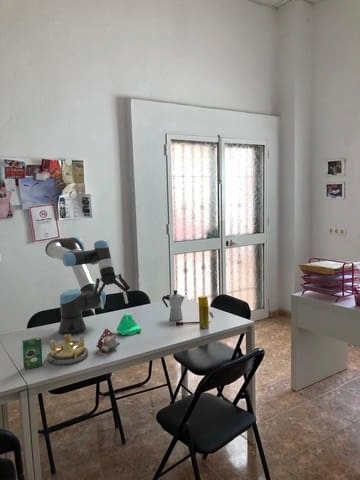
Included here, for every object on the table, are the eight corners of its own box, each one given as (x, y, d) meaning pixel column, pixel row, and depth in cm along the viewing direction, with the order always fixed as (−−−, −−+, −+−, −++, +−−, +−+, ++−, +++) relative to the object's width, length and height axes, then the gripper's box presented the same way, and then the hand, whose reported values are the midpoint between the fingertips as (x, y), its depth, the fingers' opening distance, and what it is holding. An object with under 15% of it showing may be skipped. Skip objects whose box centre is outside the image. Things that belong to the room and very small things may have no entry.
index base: (38, 360, 185) (38, 350, 185) (69, 346, 201) (68, 337, 201) (66, 368, 175) (66, 358, 175) (96, 353, 191) (95, 344, 191)
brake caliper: (107, 339, 205) (115, 324, 199) (118, 355, 200) (127, 340, 194) (89, 345, 196) (97, 330, 190) (101, 362, 191) (109, 347, 185)
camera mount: (122, 337, 214) (121, 318, 213) (117, 333, 221) (116, 315, 220) (142, 332, 221) (141, 314, 219) (136, 328, 227) (135, 311, 226)
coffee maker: (186, 316, 247) (186, 288, 245) (185, 320, 238) (184, 292, 236) (163, 316, 249) (162, 288, 247) (161, 320, 240) (160, 292, 238)
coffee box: (42, 363, 182) (40, 336, 180) (43, 365, 179) (41, 338, 178) (23, 367, 178) (21, 340, 176) (24, 370, 175) (22, 342, 174)
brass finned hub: (49, 361, 179) (48, 347, 178) (52, 348, 194) (51, 335, 193) (84, 357, 182) (84, 343, 182) (84, 344, 198) (84, 332, 197)
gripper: (85, 270, 204) (93, 310, 200) (129, 262, 216) (138, 299, 211) (82, 273, 211) (90, 312, 206) (125, 265, 222) (134, 302, 218)
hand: (115, 305), depth 209 cm, fingers open, 13 cm apart
